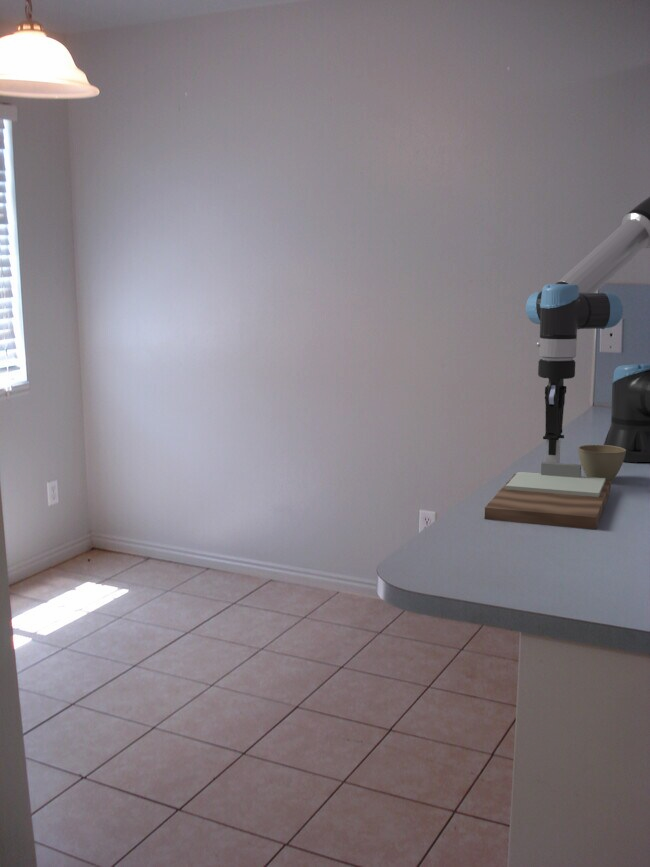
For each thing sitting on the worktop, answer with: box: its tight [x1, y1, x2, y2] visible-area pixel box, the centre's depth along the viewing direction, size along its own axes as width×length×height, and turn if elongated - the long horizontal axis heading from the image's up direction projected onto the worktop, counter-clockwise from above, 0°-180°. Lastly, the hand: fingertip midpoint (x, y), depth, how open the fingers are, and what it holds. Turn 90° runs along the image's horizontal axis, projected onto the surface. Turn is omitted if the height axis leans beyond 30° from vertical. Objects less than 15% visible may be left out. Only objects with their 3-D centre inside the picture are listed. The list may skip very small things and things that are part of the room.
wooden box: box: [484, 473, 612, 530], centre depth 187 cm, size 31×20×2 cm, turn 159°
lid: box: [506, 461, 606, 497], centre depth 193 cm, size 14×18×3 cm
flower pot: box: [578, 444, 626, 483], centre depth 208 cm, size 10×10×7 cm
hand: (552, 469), depth 202 cm, fingers closed
